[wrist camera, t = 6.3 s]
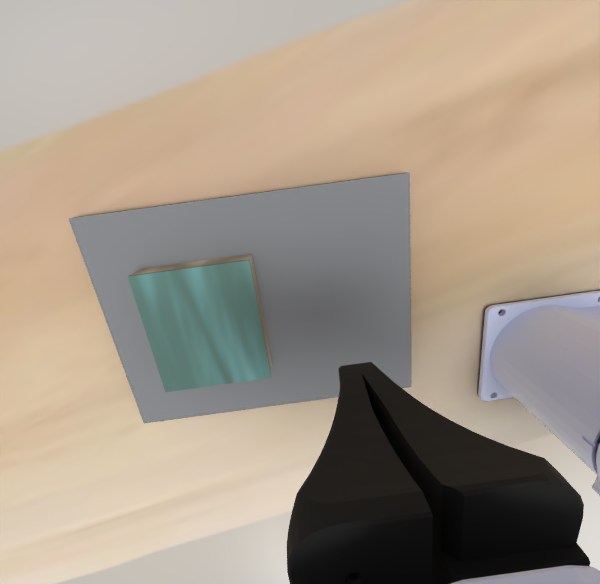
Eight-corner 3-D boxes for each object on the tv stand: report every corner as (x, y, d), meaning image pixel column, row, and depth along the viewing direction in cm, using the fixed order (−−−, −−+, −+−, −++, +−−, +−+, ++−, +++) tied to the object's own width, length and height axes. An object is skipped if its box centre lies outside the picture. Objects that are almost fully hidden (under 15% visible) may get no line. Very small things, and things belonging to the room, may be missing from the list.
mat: (405, 172, 19) (409, 172, 18) (408, 381, 24) (411, 386, 23) (75, 217, 19) (68, 218, 18) (147, 417, 24) (144, 423, 23)
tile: (249, 259, 18) (127, 276, 18) (271, 377, 21) (165, 392, 21) (252, 253, 20) (139, 269, 20) (272, 364, 22) (173, 377, 22)
